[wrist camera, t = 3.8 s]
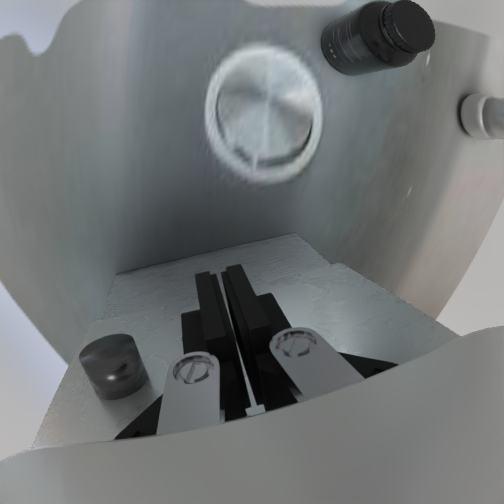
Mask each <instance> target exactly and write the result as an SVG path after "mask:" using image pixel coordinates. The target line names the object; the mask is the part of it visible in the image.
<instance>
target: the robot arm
mask: <svg viewBox="0 0 504 504" xmlns="http://www.w3.org/2000/svg"><path fill="white" fill-rule="evenodd" d="M221 276H222V281H223V286H224V290H225V295H226V299H227V304H228V308H229V313H230V317H231V322H232V325H231V322H230V318H229V315H228V312H227V308H226V305H225V302H224V298H223V295H222V292H221V288H220V285H219V281H218V278H217V275H216V273H215V274H211V275H210V271H206V272H202V273H197V274H195V281H196V287H197V294H198V301H199V307H200V309H199V310H194V311H190V312H185V313H181V326H182V341H183V354H184V355H182V356H180V357H179V358H177V359H176V360H174V361H173V362H172V364H171V365H170V366H169V368H168V371H167V375H166V381H165V386H164V392H163V394H162V395H161V396H160V397H159V398H157V399H156V400H155V401H154V402H153V403H152V404H151V405H150V406H149V407H148V408H147V409H145V410H144V411H143V412H142V413H141V414H140V415H139V416H138V417H137V418H135V419H134V420H133V421H132V422H131V423H130V424H129V425H128V426H127V427H125V428H124V429H123V430H122V431H121V432H120V433H119V434H118V435H117V436H116V437H115V438H114V440H108V441H96V442H86V443H75V444H61V445H51V446H44V447H38V448H34V449H29V450H25V451H23V452H20V453H17V454H14V455H11V456H9V457H7V458H6V459H4V460H2V461H1V462H0V504H504V326H499V327H492V328H486V329H483V330H479V331H476V332H472V333H469V334H467V335H464V336H462V337H459V338H457V339H455V340H453V341H451V342H449V343H446V344H444V345H442V346H440V347H438V348H435V349H433V350H431V351H429V352H426V353H424V354H422V355H420V356H418V357H416V358H414V359H412V360H409V361H407V362H405V363H402V364H400V365H399V364H396V363H392V362H388V361H382V360H377V359H372V358H367V357H361V356H356V355H351V354H347V353H342V352H337V351H336V350H335V349H334V348H333V347H332V346H331V345H330V344H329V343H328V342H327V341H326V340H325V339H324V338H323V337H322V336H321V335H320V334H319V333H317V332H316V331H314V330H312V329H309V328H304V327H294V328H292V326H291V325H290V323H289V321H288V320H287V318H286V316H285V315H284V313H283V311H282V309H281V308H280V306H279V304H278V303H277V301H276V299H275V297H274V296H273V294H272V293H271V292H270V293H266V294H262V295H258V296H256V294H255V292H254V290H253V288H252V286H251V284H250V282H249V280H248V278H247V276H246V274H245V271H244V269H243V267H242V265H241V264H237V265H232V266H228V267H226V271H224V272H221ZM232 326H233V328H232ZM233 331H234V332H233ZM236 342H237V343H236ZM237 345H238V348H237ZM238 349H239V352H240V355H241V358H242V361H243V365H244V368H245V371H246V374H247V377H248V380H249V383H250V386H251V389H252V392H253V395H254V398H255V402H256V404H257V406H258V405H262V404H263V405H264V408H265V411H266V412H263V413H259V414H255V415H252V416H248V417H247V413H246V409H247V408H250V407H252V406H251V402H250V398H249V394H248V390H247V386H246V381H245V377H244V373H243V369H242V365H241V360H240V356H239V352H238Z"/></svg>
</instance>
